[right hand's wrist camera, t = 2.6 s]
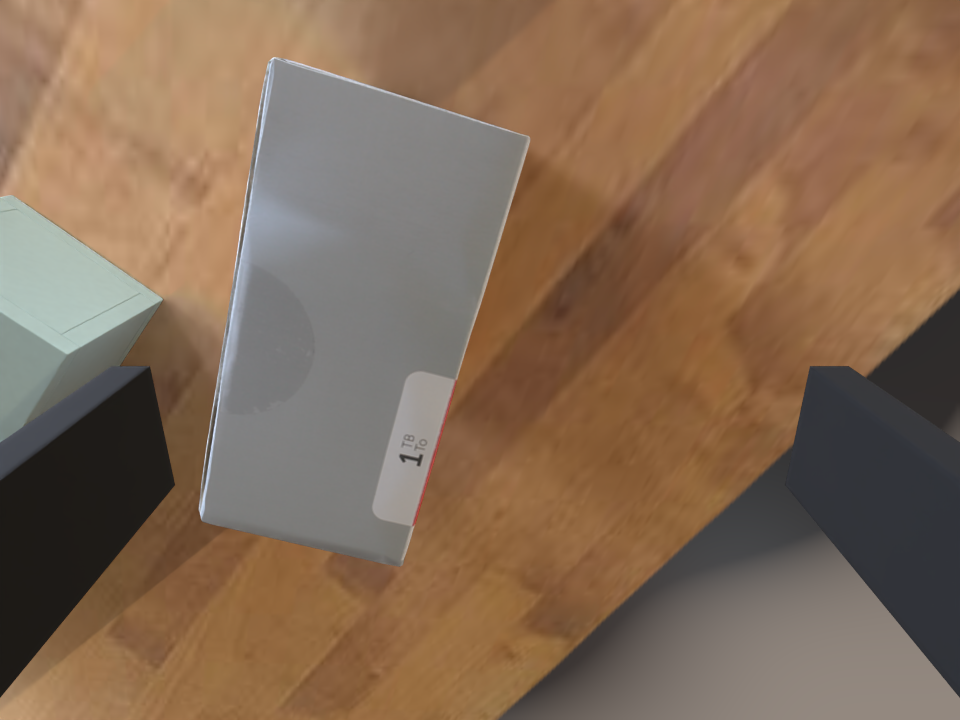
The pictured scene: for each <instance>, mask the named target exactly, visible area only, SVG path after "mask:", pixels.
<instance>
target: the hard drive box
mask: <svg viewBox="0 0 960 720" xmlns="http://www.w3.org/2000/svg"><path fill="white" fill-rule="evenodd" d="M529 143H530V137H529V136H527V135H523V134H519V133H516V132H513V131H510V130H507V129H504V128H501V127H498V126H495V125H491V124H488V123H485V122H482V121H479V120H476V119H473V118H470V117H467V116H463V115H460V114H457V113H454V112H451V111H448V110H445V109H442V108H439V107H435V106H432V105H429V104H426V103H423V102H420V101H417V100H414V99H411V98H407V97H404V96H401V95H398V94H395V93H392V92H389V91H386V90H382V89H379V88H376V87H373V86H370V85H367V84H364V83H361V82H357V81H354V80H351V79H348V78H345V77H342V76H339V75H336V74H332V73H329V72H326V71H323V70H320V69H317V68H313V67H310V66H307V65H304V64H301V63H297V62H294V61H291V60H287V59H282V58H277V57H276V58H272V59H271V60H270V61H269V62H268V66H267V71H266V75H265V80H264V85H263V90H262V96H261V101H260V107H259V114H258V120H257V127H256V134H255V141H254V147H253V154H252V160H251V166H250V172H249V178H248V185H247V191H246V197H245V204H244V210H243V217H242V223H241V230H240V237H239V244H238V251H237V258H236V265H235V272H234V279H233V285H232V291H231V298H230V304H229V310H228V317H227V323H226V329H225V335H224V341H223V348H222V354H221V360H220V367H219V373H218V379H217V386H216V392H215V398H214V404H213V410H212V416H211V422H210V429H209V435H208V441H207V447H206V454H205V462H204V469H203V477H202V484H201V494H200V503H199V511H200V515H201V521H203V522H205V523H209V524H212V525H216V526H221V527H225V528H230V529H234V530H238V531H243V532H247V533H252V534H256V535H260V536H265V537H269V538H273V539H278V540H282V541H286V542H291V543H295V544H299V545H304V546H308V547H312V548H317V549H321V550H326V551H330V552H335V553H339V554H344V555H348V556H352V557H356V558H361V559H365V560H369V561H374V562H378V563H383V564H388V565H394V566H399V567H400V566H402V565H403V563H404V558H405V555H406V552H407V549H408V546H409V543H410V539H411V536H412V532H413V529H414V526H415V523H416V520H417V517H418V513H419V510H420V507H421V503H422V500H423V497H424V493H425V490H426V486H427V483H428V480H429V476H430V473H431V470H432V467H433V464H434V460H435V457H436V453H437V450H438V446H439V442H440V439H441V435H442V432H443V428H444V425H445V421H446V418H447V414H448V411H449V407H450V404H451V401H452V397H453V393H454V390H455V386H456V382H457V378H458V375H459V371H460V368H461V365H462V361H463V358H464V355H465V352H466V348H467V345H468V342H469V339H470V335H471V332H472V329H473V326H474V323H475V320H476V317H477V314H478V311H479V308H480V305H481V302H482V299H483V296H484V292H485V289H486V286H487V282H488V279H489V276H490V273H491V269H492V266H493V263H494V259H495V256H496V253H497V249H498V246H499V243H500V240H501V236H502V233H503V230H504V226H505V223H506V220H507V216H508V213H509V210H510V207H511V203H512V200H513V197H514V193H515V190H516V187H517V183H518V180H519V177H520V173H521V170H522V167H523V164H524V160H525V157H526V154H527V150H528V147H529Z"/></svg>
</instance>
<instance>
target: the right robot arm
mask: <svg viewBox="0 0 960 720" xmlns="http://www.w3.org/2000/svg"><path fill="white" fill-rule="evenodd" d="M785 485H786V487H787V488H788V489H789V490H790V491H791V493H792V494H793V495H794V496H795V498H796V499H797V500H798V501H799V503H800V504H801V505H802V506H803V507H804V509H805V510H806V511H807V512H808V514H809V515H810V516H811V517H812V518H813V520H814V521H815V522H816V523H817V524H818V526H819V527H820V528H821V529H822V531H823V532H824V533H825V534H826V535H827V537H828V538H829V539H830V540H831V542H832V543H833V544H834V545H835V546H836V548H837V549H838V550H839V551H840V552H841V554H842V555H843V556H844V557H845V559H846V560H847V561H848V562H849V563H850V565H851V566H852V567H853V568H854V569H855V571H856V572H857V573H858V574H859V576H860V577H861V578H862V579H863V580H864V582H865V583H866V584H867V585H868V587H869V588H870V589H871V590H872V591H873V593H874V594H875V595H876V596H877V597H878V599H879V600H880V601H881V602H882V604H883V605H884V606H885V607H886V608H887V610H888V611H889V612H890V613H891V615H892V616H893V617H894V618H895V619H896V621H897V622H898V623H899V624H900V625H901V627H902V628H903V629H904V630H905V632H906V633H907V634H908V635H909V636H910V638H911V639H912V640H913V641H914V642H915V644H916V645H917V646H918V647H919V649H920V650H921V651H922V652H923V653H924V655H925V656H926V657H927V658H928V660H929V661H930V662H931V663H932V664H933V666H934V667H935V668H936V669H937V670H938V672H939V673H940V674H941V675H942V677H943V678H944V679H945V680H946V681H947V683H948V684H949V685H950V686H951V688H952V689H953V690H954V691H955V692H956V694H957V695H958V696H959V697H960V442H958V441H957V440H955V439H954V438H953V437H951V436H950V435H948V434H947V433H945V432H944V431H942V430H941V429H939V428H938V427H936V426H935V425H934V424H932V423H931V422H929V421H928V420H926V419H925V418H923V417H922V416H920V415H919V414H918V413H916V412H915V411H913V410H912V409H910V408H909V407H907V406H906V405H904V404H903V403H901V402H900V401H899V400H897V399H896V398H894V397H893V396H891V395H890V394H888V393H887V392H885V391H884V390H882V389H881V388H880V387H878V386H877V385H875V384H874V383H872V382H871V381H869V380H868V379H866V378H865V377H863V376H862V375H861V374H859V373H858V372H856V371H855V370H853V369H852V368H850V367H849V366H810V369H809V374H808V379H807V383H806V388H805V393H804V398H803V402H802V407H801V412H800V417H799V421H798V426H797V431H796V436H795V440H794V445H793V450H792V454H791V459H790V464H789V469H788V473H787V478H786V483H785ZM174 486H175V483H174V478H173V473H172V469H171V464H170V459H169V454H168V450H167V445H166V440H165V436H164V431H163V426H162V421H161V417H160V412H159V407H158V402H157V398H156V393H155V388H154V383H153V379H152V374H151V369H150V366H111V367H110V368H108V369H107V370H105V371H104V372H102V373H101V374H99V375H98V376H97V377H95V378H94V379H92V380H91V381H89V382H88V383H86V384H85V385H83V386H82V387H80V388H79V389H78V390H76V391H75V392H73V393H72V394H70V395H69V396H67V397H66V398H64V399H63V400H61V401H60V402H59V403H57V404H56V405H54V406H53V407H51V408H50V409H48V410H47V411H45V412H44V413H42V414H41V415H40V416H38V417H37V418H35V419H34V420H32V421H31V422H29V423H28V424H26V425H25V426H24V427H22V428H21V429H19V430H18V431H16V432H15V433H13V434H12V435H10V436H9V437H7V438H6V439H5V440H3V441H2V442H0V697H1V696H2V695H3V694H4V692H5V691H6V690H7V689H8V688H9V686H10V685H11V684H12V683H13V681H14V680H15V679H16V678H17V677H18V675H19V674H20V673H21V672H22V670H23V669H24V668H25V667H26V666H27V664H28V663H29V662H30V661H31V660H32V658H33V657H34V656H35V655H36V653H37V652H38V651H39V650H40V649H41V647H42V646H43V645H44V644H45V642H46V641H47V640H48V639H49V638H50V636H51V635H52V634H53V633H54V632H55V630H56V629H57V628H58V627H59V625H60V624H61V623H62V622H63V621H64V619H65V618H66V617H67V616H68V615H69V613H70V612H71V611H72V610H73V608H74V607H75V606H76V605H77V604H78V602H79V601H80V600H81V599H82V597H83V596H84V595H85V594H86V593H87V591H88V590H89V589H90V588H91V587H92V585H93V584H94V583H95V582H96V580H97V579H98V578H99V577H100V576H101V574H102V573H103V572H104V571H105V569H106V568H107V567H108V566H109V565H110V563H111V562H112V561H113V560H114V559H115V557H116V556H117V555H118V554H119V552H120V551H121V550H122V549H123V548H124V546H125V545H126V544H127V543H128V542H129V540H130V539H131V538H132V537H133V535H134V534H135V533H136V532H137V531H138V529H139V528H140V527H141V526H142V524H143V523H144V522H145V521H146V520H147V518H148V517H149V516H150V515H151V514H152V512H153V511H154V510H155V509H156V507H157V506H158V505H159V504H160V503H161V501H162V500H163V499H164V498H165V496H166V495H167V494H168V493H169V492H170V490H171V489H172V488H173V487H174Z"/></svg>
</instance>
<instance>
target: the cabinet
mask: <svg viewBox="0 0 960 720" xmlns="http://www.w3.org/2000/svg"><path fill="white" fill-rule="evenodd" d="M162 301H163V299H162V298H161V297H159V296H158V295H157V294H155V293H154V292H152V291H151V290H149V289H148V288H146V287H145V286H144V285H142V284H141V283H139V282H138V281H136V280H135V279H133V278H132V277H130V276H129V275H128V274H126V273H125V272H123V271H122V270H120V269H119V268H117V267H116V266H114V265H113V264H112V263H110V262H109V261H107V260H106V259H104V258H103V257H101V256H100V255H98V254H97V253H96V252H94V251H93V250H91V249H90V248H88V247H87V246H85V245H84V244H83V243H81V242H80V241H78V240H77V239H75V238H74V237H72V236H71V235H69V234H68V233H67V232H65V231H64V230H62V229H61V228H59V227H58V226H56V225H55V224H53V223H52V222H51V221H49V220H48V219H46V218H45V217H43V216H42V215H40V214H39V213H37V212H36V211H35V210H33V209H32V208H30V207H29V206H27V205H26V204H24V203H23V202H22V201H20V200H19V199H17V198H16V197H14V196H12V195H11V196H5V197H0V442H2V441H3V440H5V439H6V438H7V437H9V436H10V435H12V434H13V433H15V432H16V431H18V430H19V429H21V428H22V427H24V426H25V425H26V424H28V423H29V422H31V421H32V420H34V419H35V418H37V417H38V416H40V415H41V414H42V413H44V412H45V411H47V410H48V409H50V408H51V407H53V406H54V405H56V404H57V403H59V402H60V401H61V400H63V399H64V398H66V397H67V396H69V395H70V394H72V393H73V392H75V391H76V390H78V389H79V388H80V387H82V386H83V385H85V384H86V383H88V382H89V381H91V380H92V379H94V378H95V377H97V376H98V375H99V374H101V373H102V372H104V371H105V370H107V369H108V368H110V367H111V366H120V365H121V363H122V362H123V360H124V359H125V357H126V356H127V354H128V353H129V351H130V350H131V348H132V347H133V345H134V344H135V342H136V341H137V339H138V338H139V336H140V334H141V333H142V331H143V330H144V328H145V327H146V325H147V324H148V322H149V321H150V319H151V318H152V316H153V315H154V313H155V312H156V310H157V309H158V307H159V306H160V304H161V302H162Z"/></svg>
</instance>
